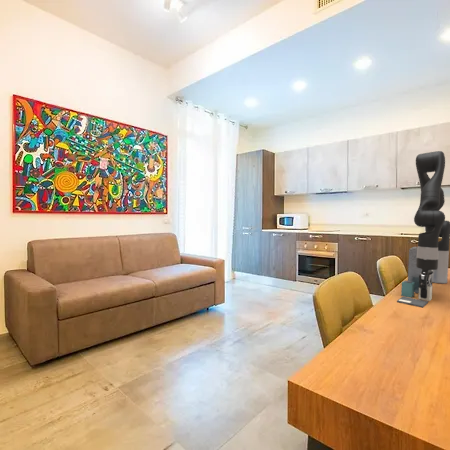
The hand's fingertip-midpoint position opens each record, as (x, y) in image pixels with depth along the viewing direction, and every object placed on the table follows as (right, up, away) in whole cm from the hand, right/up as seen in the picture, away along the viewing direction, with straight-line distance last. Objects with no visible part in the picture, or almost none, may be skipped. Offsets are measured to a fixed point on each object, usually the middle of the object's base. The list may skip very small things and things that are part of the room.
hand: (425, 296), depth 123 cm
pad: (-9, -1, -5) cm, 10 cm away
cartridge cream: (0, -1, 0) cm, 1 cm away
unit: (+5, -1, +11) cm, 12 cm away
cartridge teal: (-5, -1, +5) cm, 7 cm away
